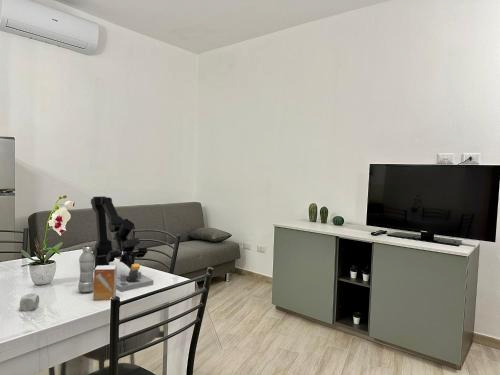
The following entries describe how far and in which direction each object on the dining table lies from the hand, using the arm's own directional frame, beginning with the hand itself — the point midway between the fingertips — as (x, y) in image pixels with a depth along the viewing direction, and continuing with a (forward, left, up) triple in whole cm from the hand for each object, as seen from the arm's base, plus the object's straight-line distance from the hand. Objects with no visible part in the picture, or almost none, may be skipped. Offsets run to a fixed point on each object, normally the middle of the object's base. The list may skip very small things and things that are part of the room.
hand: (132, 269), depth 162 cm
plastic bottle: (-18, -9, -8) cm, 21 cm away
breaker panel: (-1, +1, -8) cm, 8 cm away
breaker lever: (-1, +1, -5) cm, 6 cm away
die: (-32, -28, -8) cm, 43 cm away
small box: (-8, -16, -8) cm, 19 cm away
